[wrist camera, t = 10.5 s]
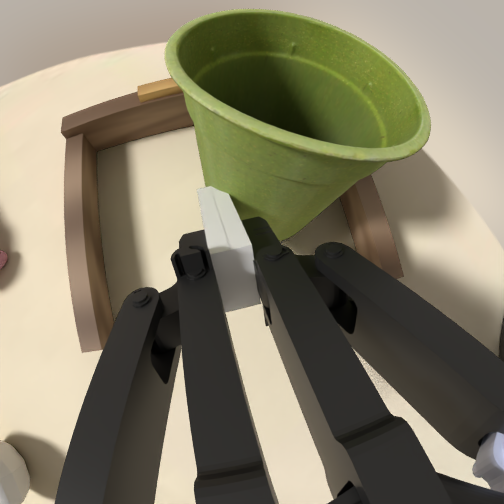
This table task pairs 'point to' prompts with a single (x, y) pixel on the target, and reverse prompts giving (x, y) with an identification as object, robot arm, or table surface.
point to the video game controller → (3, 258)
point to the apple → (12, 475)
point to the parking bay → (87, 211)
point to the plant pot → (291, 110)
